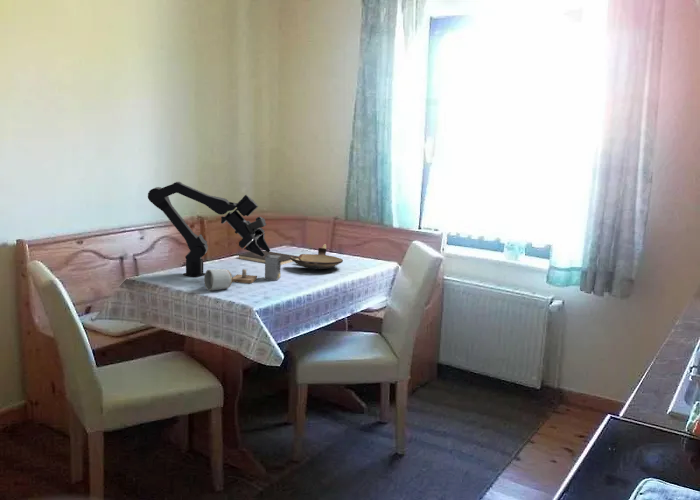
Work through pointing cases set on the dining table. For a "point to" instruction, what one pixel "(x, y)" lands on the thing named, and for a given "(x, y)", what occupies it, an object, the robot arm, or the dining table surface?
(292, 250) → the dining table surface
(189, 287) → the dining table surface
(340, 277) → the dining table surface
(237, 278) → the post base
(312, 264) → the oil lamp
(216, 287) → the ceramic mug
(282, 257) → the hardcover book
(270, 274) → the grey cardboard box
